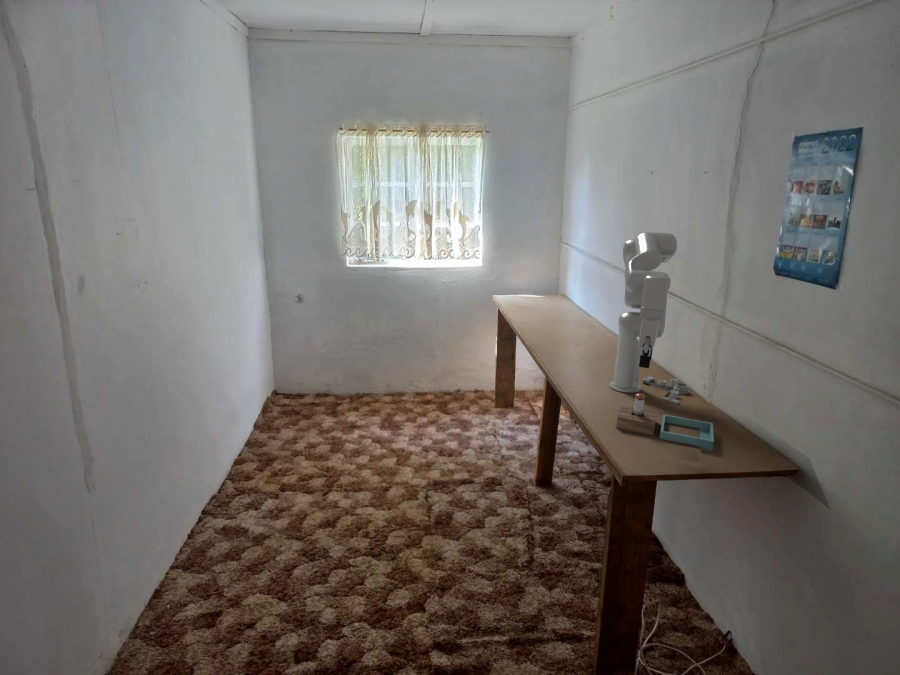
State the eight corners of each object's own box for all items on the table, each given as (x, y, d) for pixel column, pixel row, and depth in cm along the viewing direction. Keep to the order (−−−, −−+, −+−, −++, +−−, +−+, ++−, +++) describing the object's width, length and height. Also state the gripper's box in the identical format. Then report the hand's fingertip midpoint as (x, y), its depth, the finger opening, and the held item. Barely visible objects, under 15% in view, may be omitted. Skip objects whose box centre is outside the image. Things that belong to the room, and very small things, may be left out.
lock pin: (631, 422, 202) (635, 392, 199) (641, 424, 201) (645, 394, 198) (630, 425, 199) (634, 395, 196) (640, 427, 198) (644, 397, 195)
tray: (661, 423, 204) (663, 414, 204) (711, 432, 199) (712, 422, 198) (659, 441, 190) (660, 431, 189) (712, 451, 184) (713, 441, 184)
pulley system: (671, 382, 250) (638, 380, 249) (674, 372, 249) (640, 370, 248) (702, 409, 224) (665, 407, 223) (705, 398, 223) (667, 395, 222)
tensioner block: (620, 418, 208) (621, 404, 206) (655, 424, 203) (657, 411, 202) (615, 430, 197) (617, 416, 196) (653, 437, 193) (655, 423, 191)
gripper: (642, 307, 198) (635, 355, 203) (637, 317, 183) (630, 368, 187) (665, 309, 196) (658, 358, 200) (662, 320, 180) (655, 372, 185)
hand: (645, 363), depth 194 cm, fingers open, 9 cm apart
